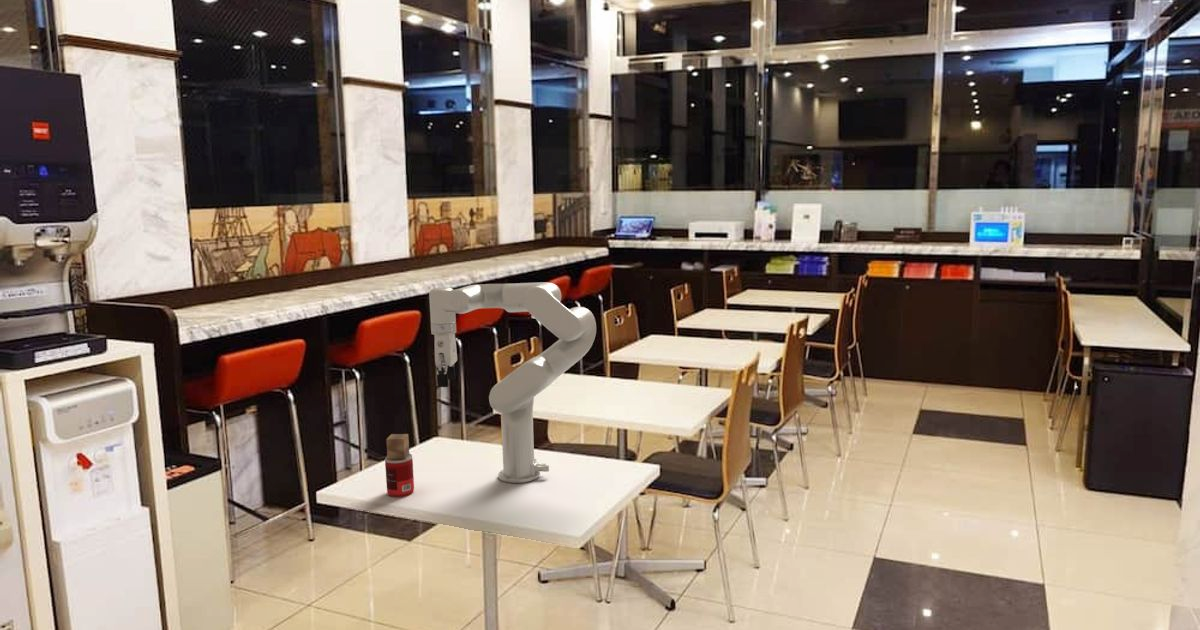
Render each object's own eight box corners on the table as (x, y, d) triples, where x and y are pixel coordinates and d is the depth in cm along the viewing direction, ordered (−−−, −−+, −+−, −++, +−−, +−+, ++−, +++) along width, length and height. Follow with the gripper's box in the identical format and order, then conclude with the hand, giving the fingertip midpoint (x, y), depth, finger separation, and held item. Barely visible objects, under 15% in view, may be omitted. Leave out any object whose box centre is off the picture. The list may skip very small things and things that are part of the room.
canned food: (417, 488, 254) (415, 452, 253) (409, 498, 247) (407, 461, 245) (392, 487, 255) (390, 452, 253) (383, 497, 247) (380, 461, 246)
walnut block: (409, 453, 251) (408, 434, 251) (404, 459, 247) (403, 439, 246) (392, 454, 252) (391, 434, 251) (387, 459, 247) (386, 439, 246)
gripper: (449, 333, 252) (452, 389, 255) (461, 323, 269) (464, 376, 272) (424, 333, 253) (427, 390, 255) (437, 323, 270) (440, 377, 272)
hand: (446, 383), depth 264 cm, fingers open, 9 cm apart
